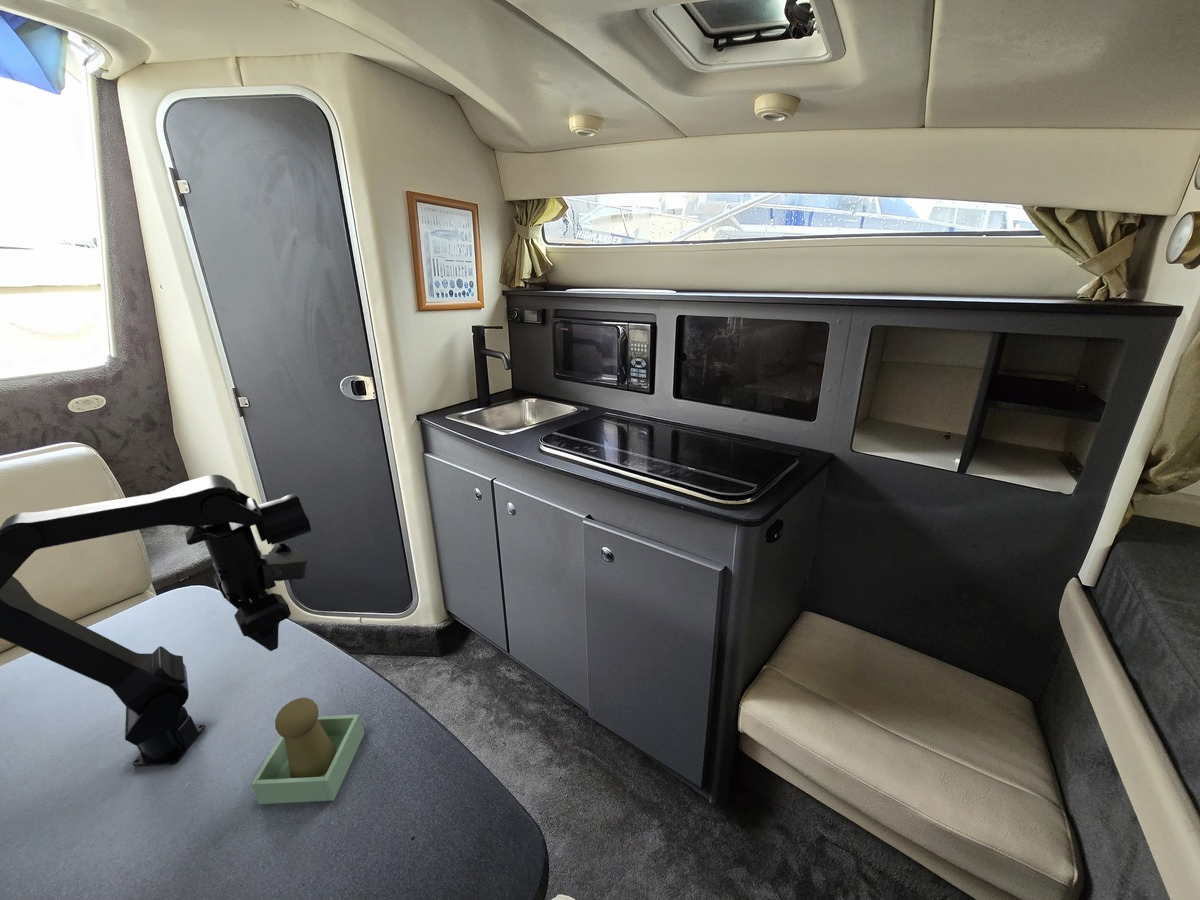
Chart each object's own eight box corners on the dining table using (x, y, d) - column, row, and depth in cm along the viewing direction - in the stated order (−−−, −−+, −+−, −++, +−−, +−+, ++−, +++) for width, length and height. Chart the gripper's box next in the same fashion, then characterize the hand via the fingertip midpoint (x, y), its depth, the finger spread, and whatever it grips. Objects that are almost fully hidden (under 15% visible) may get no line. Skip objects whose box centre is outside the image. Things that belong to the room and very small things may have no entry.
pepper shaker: (316, 787, 69) (295, 731, 65) (280, 779, 70) (257, 724, 66) (345, 747, 74) (328, 693, 70) (311, 740, 76) (292, 687, 71)
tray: (259, 804, 68) (250, 784, 66) (299, 736, 77) (292, 717, 75) (334, 800, 68) (326, 780, 66) (364, 733, 77) (359, 714, 76)
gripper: (313, 555, 74) (338, 635, 80) (277, 515, 87) (300, 588, 92) (226, 591, 67) (260, 676, 73) (199, 541, 79) (230, 619, 85)
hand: (265, 635), depth 81 cm, fingers open, 9 cm apart
